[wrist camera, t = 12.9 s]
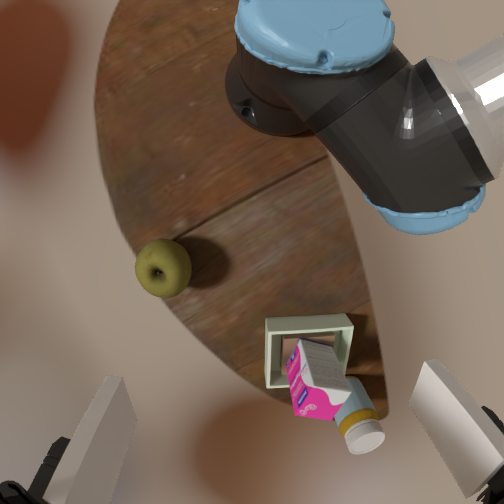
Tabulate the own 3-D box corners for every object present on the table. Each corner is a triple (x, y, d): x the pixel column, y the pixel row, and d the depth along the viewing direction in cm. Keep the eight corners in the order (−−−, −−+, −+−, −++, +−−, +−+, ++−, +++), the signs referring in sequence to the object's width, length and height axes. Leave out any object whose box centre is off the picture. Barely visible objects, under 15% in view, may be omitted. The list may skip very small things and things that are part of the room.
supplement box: (298, 336, 42) (314, 385, 31) (331, 344, 42) (355, 391, 31) (283, 365, 43) (294, 416, 32) (316, 372, 44) (333, 421, 33)
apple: (182, 225, 40) (171, 235, 34) (204, 275, 42) (197, 294, 36) (138, 244, 41) (120, 257, 34) (160, 291, 43) (147, 312, 36)
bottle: (360, 369, 48) (390, 424, 34) (358, 394, 50) (384, 447, 36) (325, 378, 48) (348, 437, 34) (326, 403, 50) (345, 460, 36)
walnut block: (281, 329, 45) (284, 339, 42) (330, 326, 45) (335, 335, 42) (279, 364, 46) (281, 374, 44) (325, 360, 47) (329, 370, 44)
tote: (265, 317, 45) (268, 331, 40) (344, 313, 45) (354, 326, 41) (264, 371, 47) (266, 388, 43) (336, 366, 48) (343, 381, 43)
